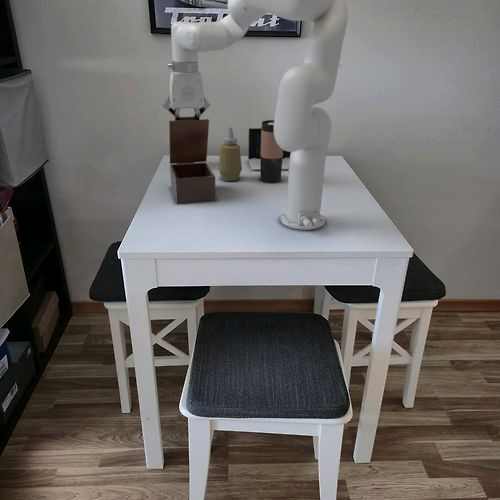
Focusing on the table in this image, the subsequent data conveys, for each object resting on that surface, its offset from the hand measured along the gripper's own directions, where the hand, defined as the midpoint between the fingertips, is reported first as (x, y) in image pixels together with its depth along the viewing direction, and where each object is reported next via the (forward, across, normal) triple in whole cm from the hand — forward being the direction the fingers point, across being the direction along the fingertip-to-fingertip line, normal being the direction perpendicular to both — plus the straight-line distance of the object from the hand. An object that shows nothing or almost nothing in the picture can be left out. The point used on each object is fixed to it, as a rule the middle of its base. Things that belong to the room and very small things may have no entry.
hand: (187, 128), depth 149 cm
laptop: (+20, +35, +18) cm, 44 cm away
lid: (+4, 0, -2) cm, 4 cm away
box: (+20, 0, -6) cm, 21 cm away
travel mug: (+20, +29, +3) cm, 35 cm away
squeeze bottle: (+20, +15, +6) cm, 26 cm away
